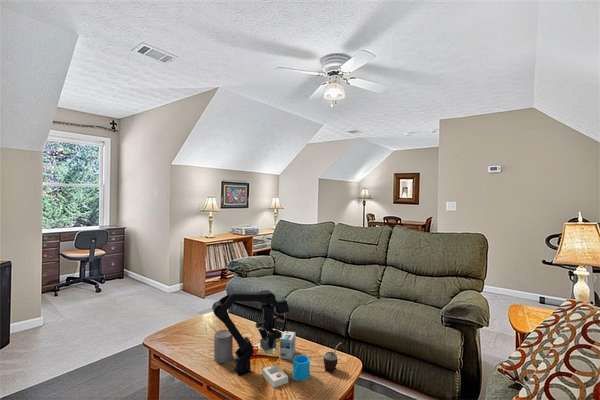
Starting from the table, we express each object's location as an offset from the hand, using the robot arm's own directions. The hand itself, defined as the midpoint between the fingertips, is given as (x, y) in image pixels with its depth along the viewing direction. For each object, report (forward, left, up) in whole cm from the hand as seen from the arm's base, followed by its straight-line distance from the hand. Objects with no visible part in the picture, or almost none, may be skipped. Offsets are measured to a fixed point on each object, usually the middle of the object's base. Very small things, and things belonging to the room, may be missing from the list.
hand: (268, 345), depth 162 cm
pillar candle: (-17, +19, -11) cm, 28 cm away
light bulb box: (+15, +5, -11) cm, 19 cm away
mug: (+8, -17, -11) cm, 22 cm away
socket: (-2, -12, -11) cm, 16 cm away
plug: (0, 0, -3) cm, 3 cm away
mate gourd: (+26, -20, -11) cm, 34 cm away
